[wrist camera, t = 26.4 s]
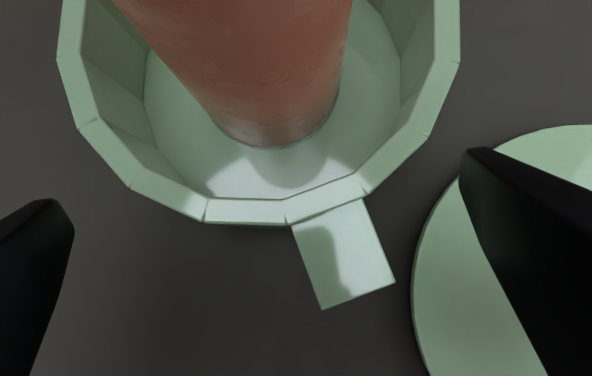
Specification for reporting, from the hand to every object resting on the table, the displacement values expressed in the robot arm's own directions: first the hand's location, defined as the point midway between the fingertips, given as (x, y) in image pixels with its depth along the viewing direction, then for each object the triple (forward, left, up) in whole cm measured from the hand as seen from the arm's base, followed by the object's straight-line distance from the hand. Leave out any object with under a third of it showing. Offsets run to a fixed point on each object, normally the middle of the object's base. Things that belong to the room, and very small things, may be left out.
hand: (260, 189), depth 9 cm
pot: (+3, -5, -8) cm, 10 cm away
